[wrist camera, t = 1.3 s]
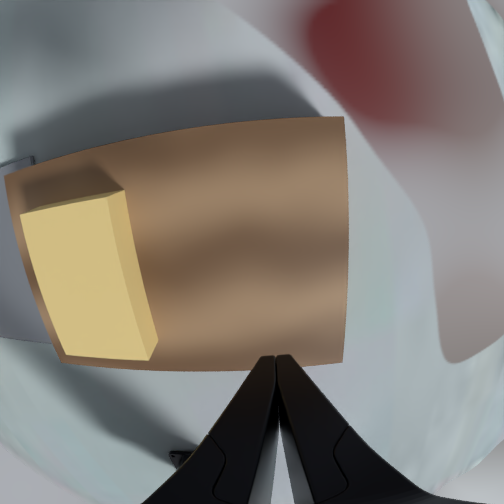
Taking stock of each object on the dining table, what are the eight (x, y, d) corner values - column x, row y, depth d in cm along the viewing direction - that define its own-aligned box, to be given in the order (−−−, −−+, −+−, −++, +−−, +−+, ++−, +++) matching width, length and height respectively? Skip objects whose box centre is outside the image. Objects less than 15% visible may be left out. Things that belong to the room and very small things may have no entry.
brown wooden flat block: (331, 327, 22) (342, 362, 18) (83, 334, 23) (61, 362, 19) (326, 121, 17) (343, 116, 13) (39, 167, 18) (3, 175, 14)
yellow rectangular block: (158, 340, 18) (148, 360, 16) (79, 337, 18) (65, 354, 16) (124, 189, 15) (106, 197, 13) (40, 206, 15) (19, 214, 13)
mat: (82, 343, 23) (80, 346, 23) (-3, 334, 24) (-5, 336, 24) (33, 155, 18) (29, 156, 17) (-47, 189, 19) (-50, 190, 18)
